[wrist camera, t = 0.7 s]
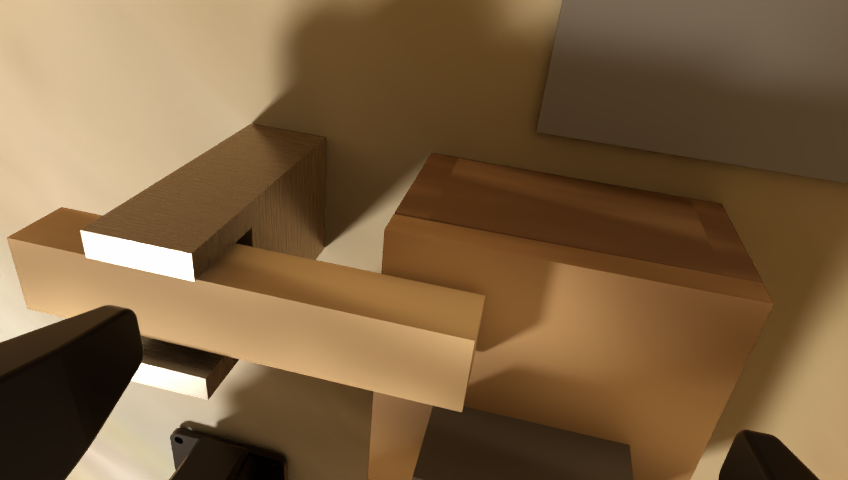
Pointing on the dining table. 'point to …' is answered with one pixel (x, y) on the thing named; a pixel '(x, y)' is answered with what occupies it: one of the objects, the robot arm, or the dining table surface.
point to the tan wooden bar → (270, 311)
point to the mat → (706, 80)
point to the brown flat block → (579, 215)
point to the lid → (568, 362)
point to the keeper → (216, 230)
